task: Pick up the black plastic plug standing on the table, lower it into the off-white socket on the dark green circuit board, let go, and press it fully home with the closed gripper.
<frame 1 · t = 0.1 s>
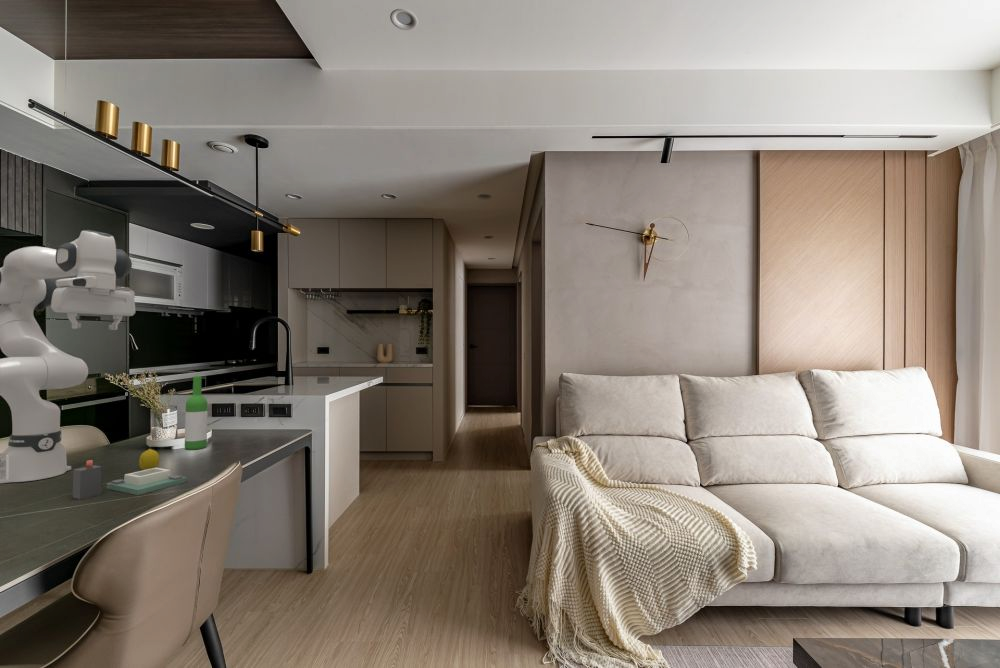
hand: (95, 329, 141), 48 cm above the table, tool pointing down, fingers open, 8 cm apart
header board: (147, 485, 144), on the table
wine bottle: (195, 448, 195), on the table
lemon: (149, 473, 158), on the table
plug: (88, 495, 134), on the table
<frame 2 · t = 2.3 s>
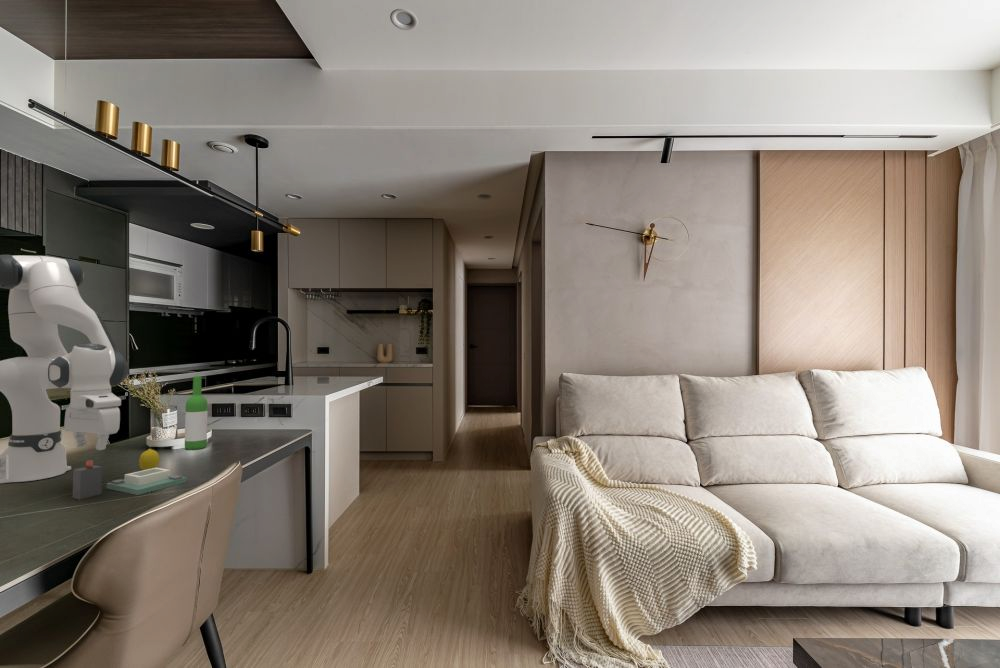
hand: (90, 448, 134), 14 cm above the table, tool pointing down, fingers open, 8 cm apart
nothing on the table moved.
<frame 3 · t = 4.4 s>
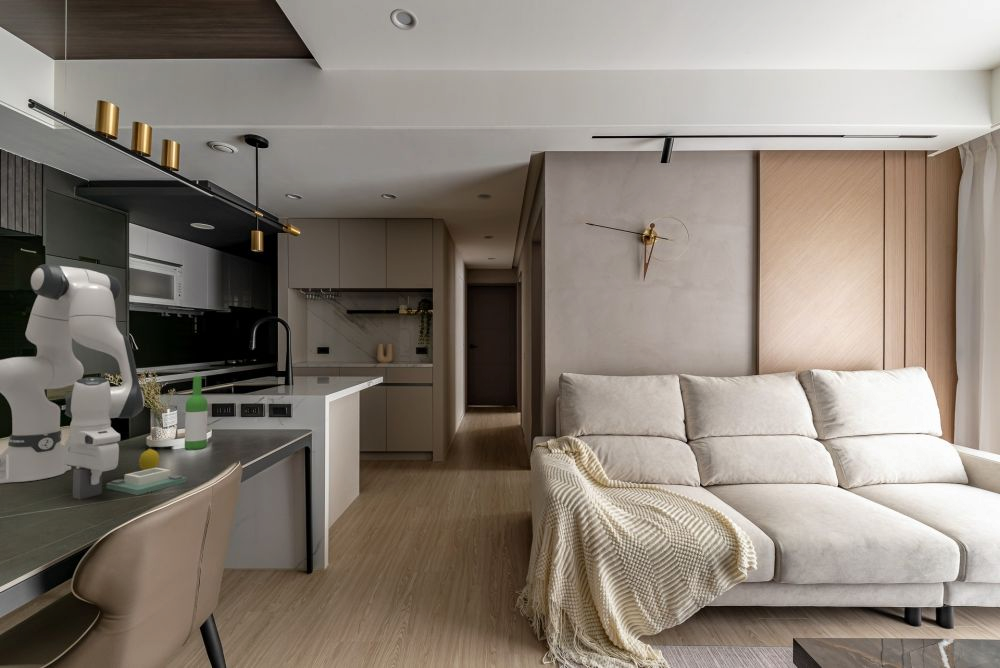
hand: (89, 483, 134), 4 cm above the table, tool pointing down, fingers closed on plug, 3 cm apart
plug: (88, 495, 134), on the table, touching gripper
everything else where it was.
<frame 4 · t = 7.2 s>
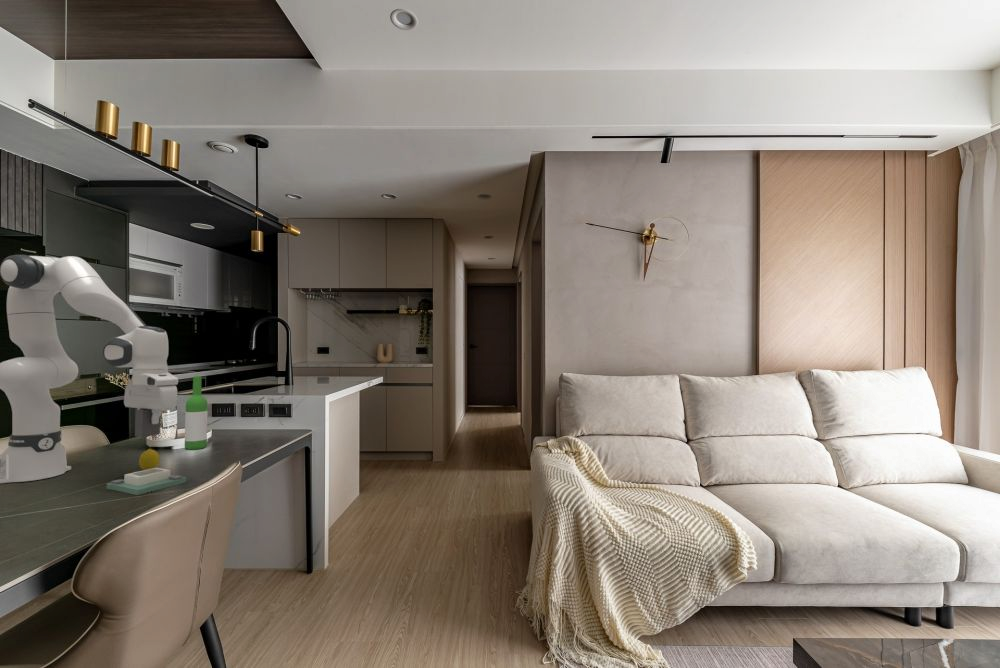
hand: (149, 423, 145), 19 cm above the table, tool pointing down, fingers closed on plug, 3 cm apart
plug: (148, 434, 144), point 15 cm above the table, touching gripper
everything else where it was.
when the fingers open (6 cm above the table, at t = 10.3 s): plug stays where it is, resting on header board.
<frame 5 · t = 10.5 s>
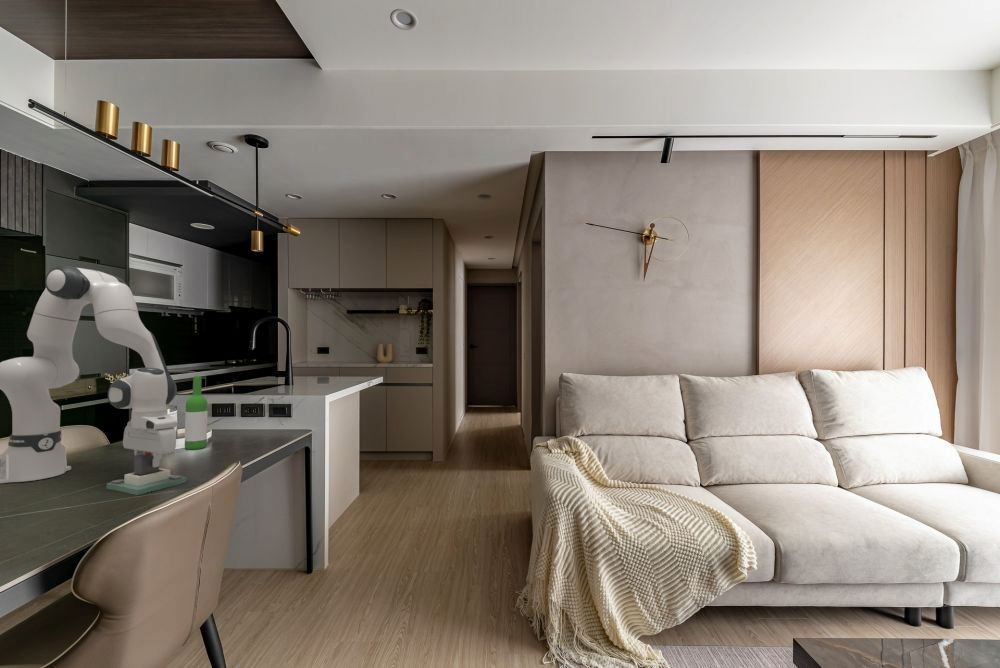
hand: (147, 465, 144), 6 cm above the table, tool pointing down, fingers open, 5 cm apart
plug: (147, 480, 144), point 1 cm above the table, touching header board
everything else where it was.
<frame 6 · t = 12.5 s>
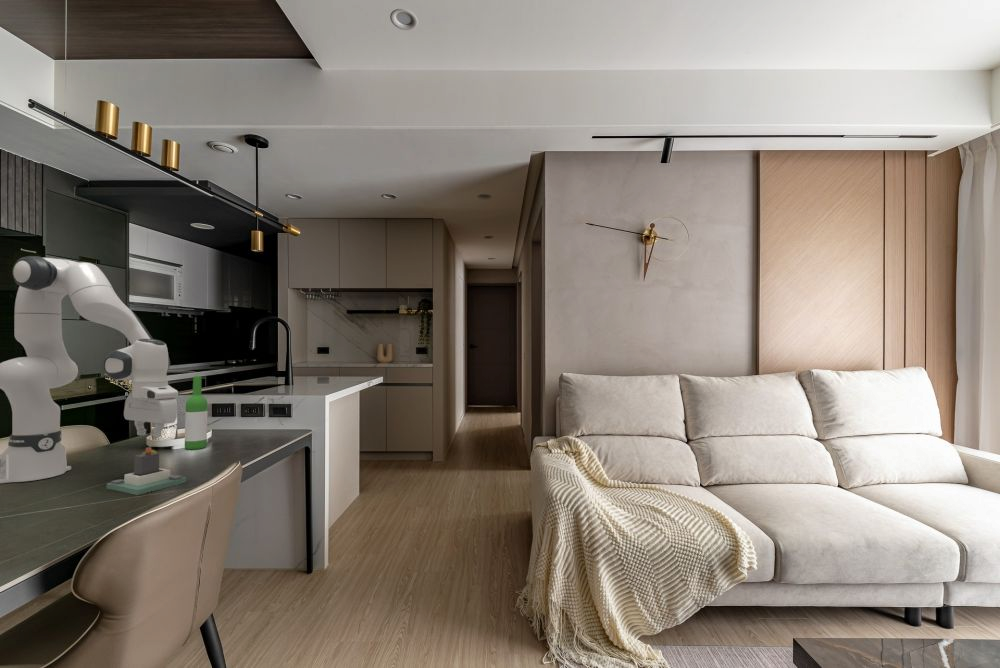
hand: (149, 436, 144), 15 cm above the table, tool pointing down, fingers open, 6 cm apart
nothing on the table moved.
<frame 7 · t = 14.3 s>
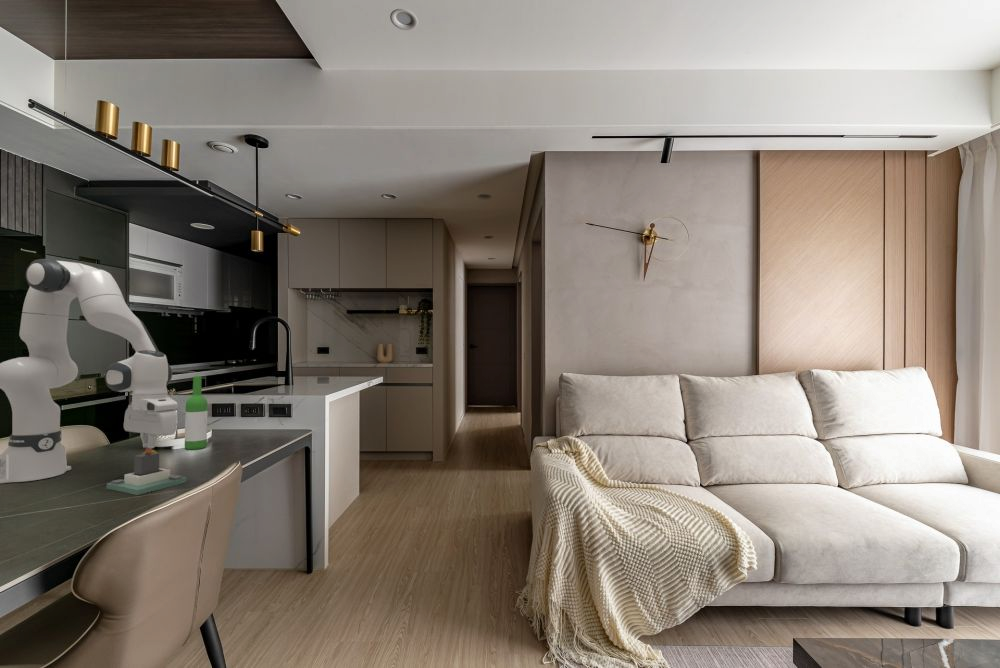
hand: (148, 447, 144), 12 cm above the table, tool pointing down, fingers closed, pressing on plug
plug: (147, 480, 144), point 2 cm above the table, touching gripper, header board
everything else where it was.
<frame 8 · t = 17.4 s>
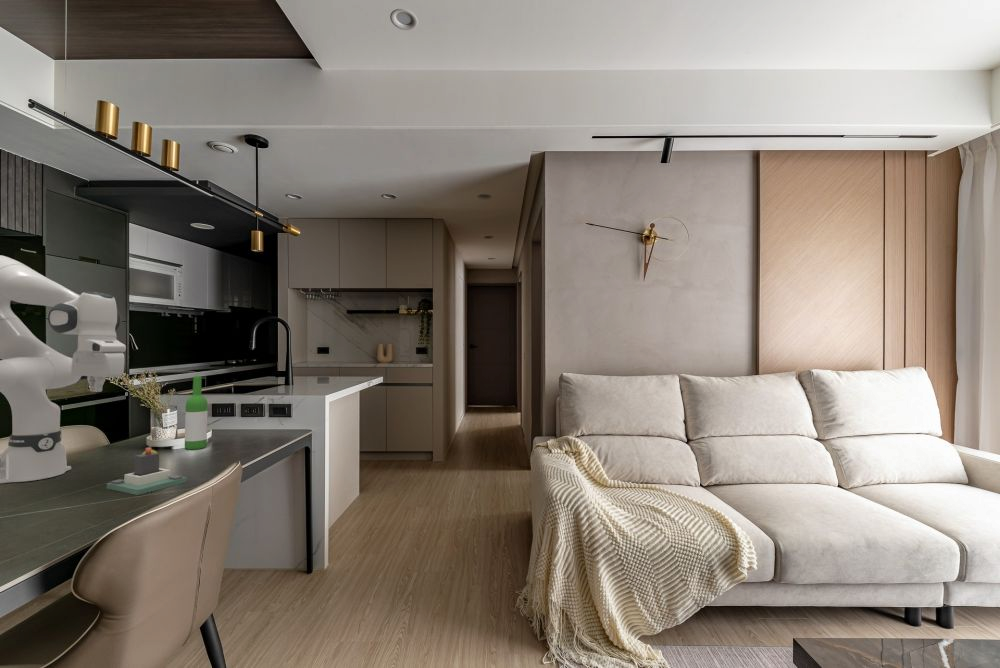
hand: (96, 391, 141), 29 cm above the table, tool pointing down, fingers closed
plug: (147, 480, 144), point 1 cm above the table, touching header board
everything else where it was.
at the end: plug 0.1 cm off-centre on the header board, point 1.5 cm above the header board's base; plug tilted 0°; the gripper is holding nothing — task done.
